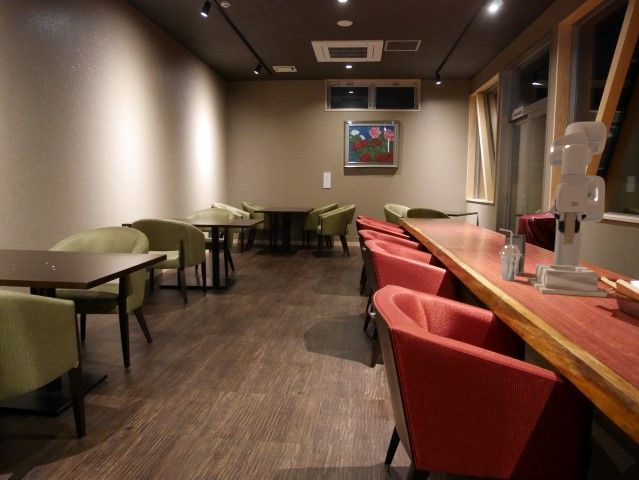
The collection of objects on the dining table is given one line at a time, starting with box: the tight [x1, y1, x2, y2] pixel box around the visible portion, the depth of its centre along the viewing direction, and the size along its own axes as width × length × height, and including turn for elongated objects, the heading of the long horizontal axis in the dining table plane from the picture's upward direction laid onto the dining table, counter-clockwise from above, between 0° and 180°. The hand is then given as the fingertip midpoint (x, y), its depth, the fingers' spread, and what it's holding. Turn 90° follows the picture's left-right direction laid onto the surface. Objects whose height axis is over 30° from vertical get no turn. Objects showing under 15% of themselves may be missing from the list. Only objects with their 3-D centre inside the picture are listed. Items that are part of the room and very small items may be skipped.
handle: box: [562, 202, 578, 244], centre depth 171 cm, size 5×6×15 cm
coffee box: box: [504, 233, 527, 276], centre depth 202 cm, size 9×6×16 cm
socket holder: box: [527, 263, 607, 298], centre depth 173 cm, size 22×20×7 cm
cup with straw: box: [498, 228, 522, 282], centre depth 188 cm, size 8×9×20 cm
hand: (568, 232), depth 171 cm, fingers closed on handle, 4 cm apart
